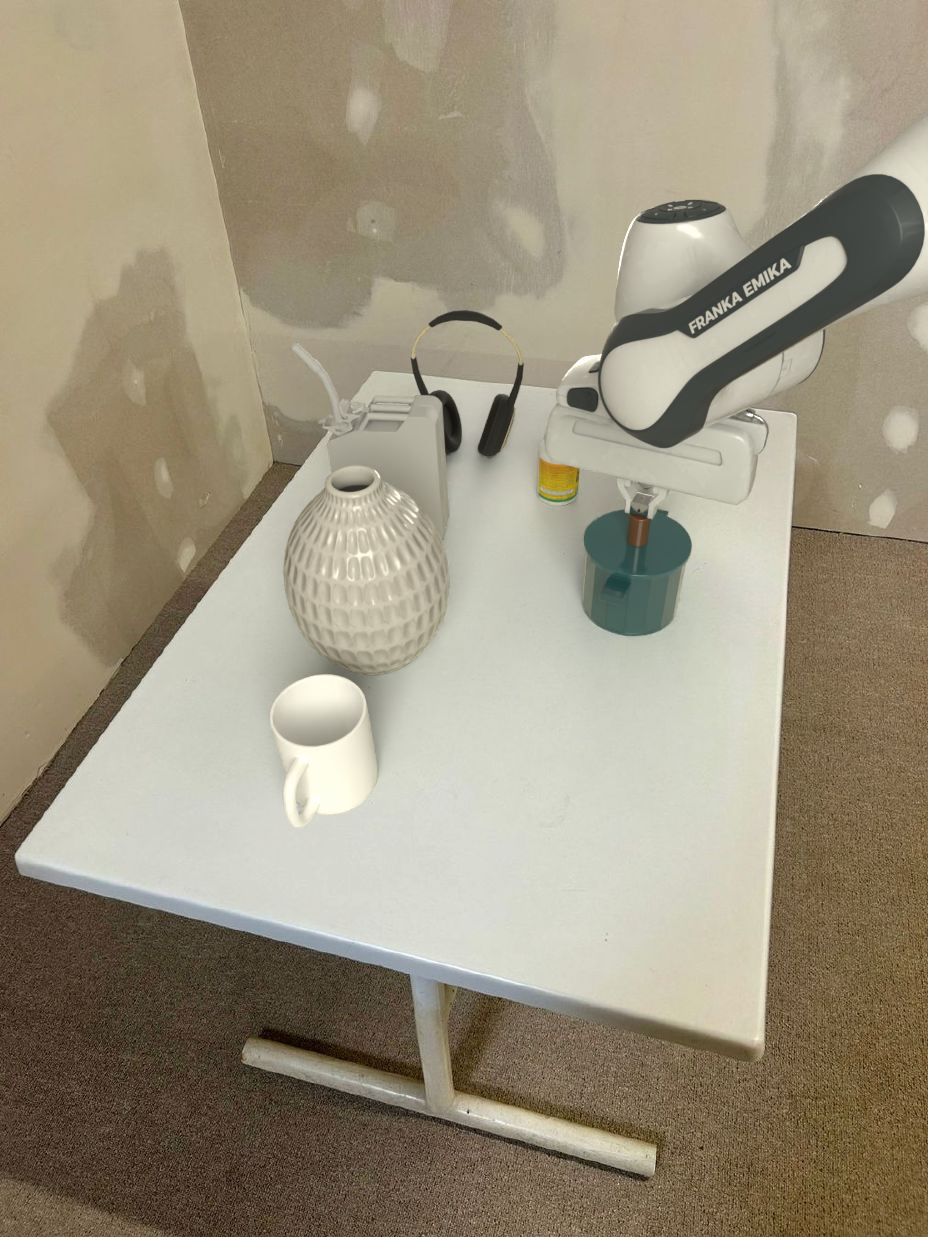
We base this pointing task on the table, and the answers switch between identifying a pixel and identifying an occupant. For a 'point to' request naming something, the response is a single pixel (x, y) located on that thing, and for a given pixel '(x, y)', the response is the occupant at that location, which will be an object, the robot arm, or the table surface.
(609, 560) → the lid
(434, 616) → the vase
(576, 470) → the supplement bottle
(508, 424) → the headphones
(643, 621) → the cooking pot
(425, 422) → the fuel canister
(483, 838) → the table surface
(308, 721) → the cup
